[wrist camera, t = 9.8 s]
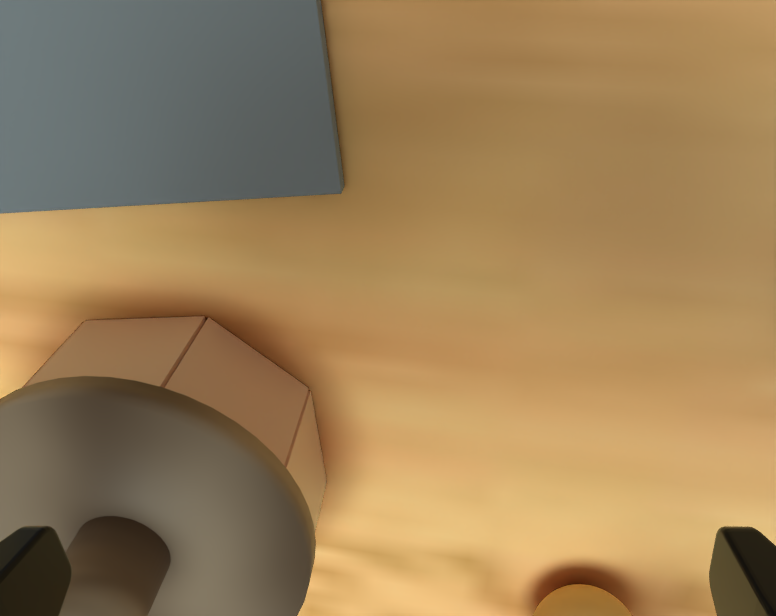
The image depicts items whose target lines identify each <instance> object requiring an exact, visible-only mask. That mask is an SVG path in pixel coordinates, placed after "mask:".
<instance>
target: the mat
mask: <svg viewBox="0 0 776 616" xmlns="http://www.w3.org/2000/svg"><path fill="white" fill-rule="evenodd" d="M343 188H344V179H343V171H342V163H341V155H340V147H339V139H338V132H337V124H336V116H335V108H334V100H333V92H332V85H331V77H330V69H329V61H328V53H327V45H326V37H325V30H324V22H323V14H322V6H321V0H0V213H15V212H32V211H49V210H66V209H84V208H101V207H118V206H135V205H153V204H170V203H187V202H204V201H222V200H239V199H256V198H273V197H290V196H308V195H325V194H341V193H342V191H343Z"/></svg>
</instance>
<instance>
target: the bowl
mask: <svg viewBox="0 0 776 616" xmlns="http://www.w3.org/2000/svg"><path fill="white" fill-rule="evenodd" d="M78 376H98V377H114V378H121V379H128V380H135V381H139V382H143V383H147V384H151V385H156V386H160V387H163V388H166V389H169V390H172V391H174V392H177V393H180V394H183V395H186V396H188V397H190V398H193V399H195V400H197V401H199V402H201V403H203V404H205V405H208V406H210V407H212V408H214V409H215V410H217V411H219V412H220V413H222V414H224V415H225V416H227V417H229V418H230V419H232V420H234V421H235V422H237V423H238V424H239V425H241V426H242V427H243V428H245V429H246V430H247V431H249V432H250V433H251V434H253V435H254V436H255V437H257V438H258V439H259V440H260V441H261V442H262V443H263V444H264V445H265V446H266V447H267V448H268V449H269V450H271V451H272V452H273V453H274V454H275V456H276V457H277V458H278V459H279V460H280V461H281V463H282V464H283V465H284V466H285V467H286V469H287V470H288V471H289V472H290V474H291V475H292V477H293V479H294V480H295V482H296V483H297V485H298V486H299V488H300V489H301V492H302V494H303V496H304V498H305V500H306V502H307V505H308V507H309V510H310V513H311V517H312V520H313V524H314V531H316V526H317V522H318V518H319V514H320V509H321V505H322V501H323V497H324V492H325V488H326V484H327V479H326V473H325V468H324V462H323V456H322V451H321V445H320V440H319V434H318V428H317V423H316V417H315V411H314V406H313V400H312V395H311V391H308V389H309V388H308V387H307V386H305V385H304V384H302V383H301V382H300V381H298V380H297V379H295V378H294V377H292V376H291V375H290V374H288V373H287V372H285V371H284V370H283V369H281V368H280V367H278V366H277V365H275V364H274V363H273V362H271V361H270V360H268V359H267V358H266V357H264V356H263V355H261V354H260V353H258V352H257V351H256V350H254V349H253V348H251V347H250V346H249V345H247V344H246V343H244V342H243V341H242V340H240V339H239V338H237V337H236V336H234V335H233V334H232V333H230V332H229V331H227V330H226V329H225V328H223V327H222V326H220V325H219V324H217V323H216V322H215V321H213V320H212V319H210V318H209V317H208V319H207V320H205V316H191V317H164V318H138V319H111V320H86V321H85V322H82V323H81V325H80V326H79V327H78V328H77V329H76V330H75V331H74V332H73V333H72V334H71V335H70V336H69V338H68V339H67V340H66V341H65V342H64V343H63V344H62V345H61V346H60V347H59V348H58V349H57V350H56V352H55V353H54V354H53V355H52V356H51V357H50V358H49V359H48V360H47V361H46V362H45V363H44V365H43V366H42V367H41V368H40V369H39V370H38V371H37V372H36V373H35V374H34V375H33V376H32V377H31V379H30V380H29V381H28V382H27V383H26V384H25V385H24V386H23V387H22V388H24V387H26V386H29V385H32V384H34V383H38V382H43V381H47V380H52V379H57V378H66V377H78Z"/></svg>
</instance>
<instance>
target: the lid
mask: <svg viewBox="0 0 776 616" xmlns="http://www.w3.org/2000/svg"><path fill="white" fill-rule="evenodd" d="M24 526H50V527H52V528H53V529H54V530H55V531H56V532H57V534H58V536H59V539H60V541H61V543H62V545H63V548H64V550H65V552H66V554H67V557H68V559H69V561H70V564H71V569H72V577H71V582H70V586H69V588H68V591H67V594H66V597H65V600H64V603H63V606H62V609H61V612H60V615H59V616H297V615H298V613H299V611H300V609H301V607H302V605H303V603H304V600H305V597H306V593H307V589H308V586H309V581H310V577H311V572H312V568H313V564H314V559H315V546H316V540H315V531H314V524H313V520H312V517H311V513H310V510H309V507H308V505H307V502H306V500H305V498H304V496H303V494H302V492H301V489H300V488H299V486H298V485H297V483H296V482H295V480H294V479H293V477H292V475H291V474H290V472H289V471H288V470H287V469H286V467H285V466H284V465H283V464H282V463H281V461H280V460H279V459H278V458H277V457H276V456H275V454H274V453H273V452H272V451H271V450H269V449H268V448H267V447H266V446H265V445H264V444H263V443H262V442H261V441H260V440H259V439H258V438H257V437H255V436H254V435H253V434H251V433H250V432H249V431H247V430H246V429H245V428H243V427H242V426H241V425H239V424H238V423H237V422H235V421H234V420H232V419H230V418H229V417H227V416H225V415H224V414H222V413H220V412H219V411H217V410H215V409H214V408H212V407H210V406H208V405H205V404H203V403H201V402H199V401H197V400H195V399H193V398H190V397H188V396H186V395H183V394H180V393H177V392H174V391H172V390H169V389H166V388H163V387H160V386H156V385H151V384H147V383H143V382H139V381H135V380H128V379H121V378H114V377H98V376H78V377H66V378H57V379H52V380H47V381H43V382H38V383H34V384H32V385H29V386H26V387H24V388H21V389H18V390H16V391H14V392H12V393H10V394H8V395H7V396H5V397H3V398H1V399H0V541H2V540H3V539H5V538H6V537H7V536H9V535H10V534H12V533H13V532H14V531H16V530H17V529H19V528H21V527H24Z"/></svg>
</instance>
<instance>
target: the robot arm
mask: <svg viewBox="0 0 776 616" xmlns="http://www.w3.org/2000/svg"><path fill="white" fill-rule="evenodd" d="M71 577H72V569H71V564H70V561H69V559H68V557H67V554H66V552H65V550H64V548H63V545H62V543H61V541H60V539H59V536H58V534H57V532H56V531H55V530H54V529H53V528H52V527H50V526H24V527H21V528H19V529H17V530H16V531H14V532H13V533H12V534H10V535H9V536H7V537H6V538H5V539H3V540H2V541H0V616H59V615H60V612H61V609H62V606H63V603H64V600H65V597H66V594H67V591H68V588H69V586H70V582H71ZM709 581H710V588H711V593H712V597H713V601H714V605H715V609H716V613H717V616H776V546H775V545H774V544H773V543H772V542H771V541H770V540H768V539H767V538H766V537H765V536H764V535H763V534H762V533H761V532H759V531H758V530H756V529H754V528H752V527H721V528H720V529H719V530H718V532H717V534H716V538H715V544H714V549H713V554H712V560H711V565H710V571H709Z"/></svg>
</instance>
